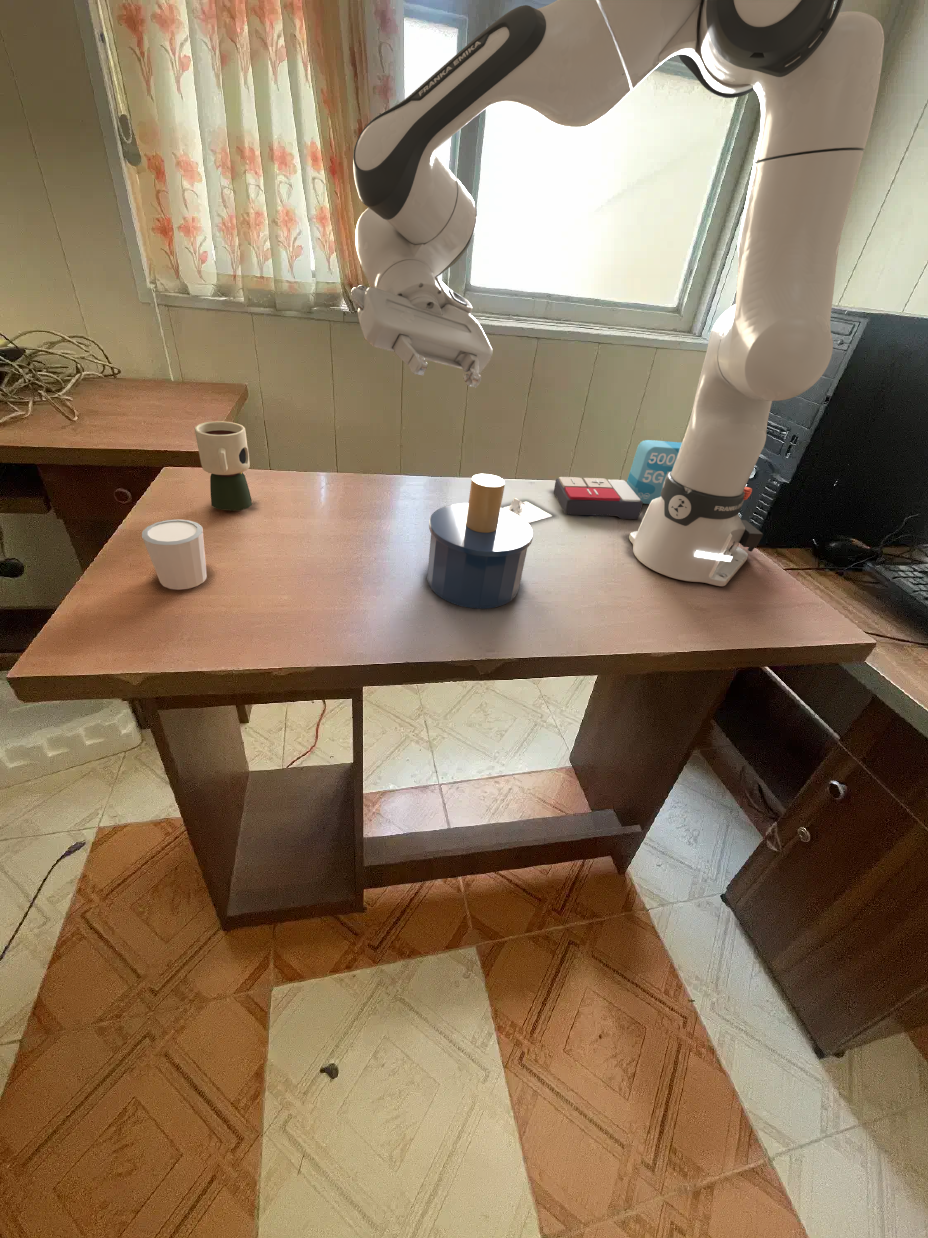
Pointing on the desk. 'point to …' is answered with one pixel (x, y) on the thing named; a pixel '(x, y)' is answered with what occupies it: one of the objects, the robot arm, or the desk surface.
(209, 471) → the character mug
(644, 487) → the data package
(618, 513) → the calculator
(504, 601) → the pot
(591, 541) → the desk surface
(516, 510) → the adhesive hook
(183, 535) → the white tapered cup
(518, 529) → the lid
